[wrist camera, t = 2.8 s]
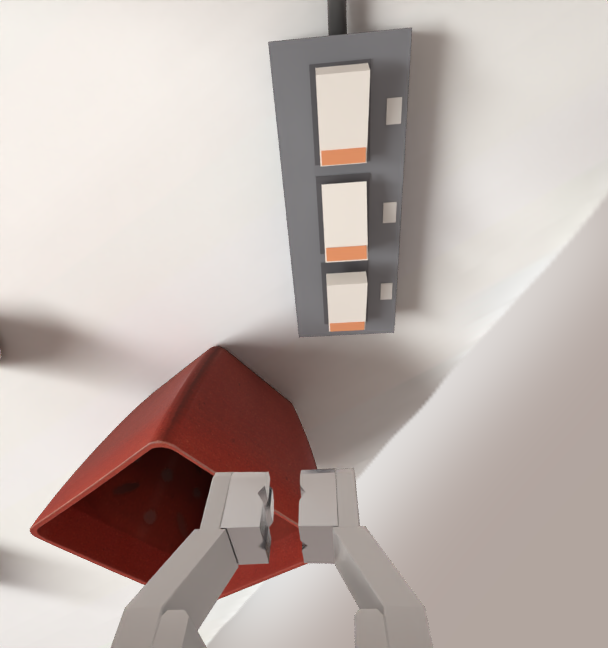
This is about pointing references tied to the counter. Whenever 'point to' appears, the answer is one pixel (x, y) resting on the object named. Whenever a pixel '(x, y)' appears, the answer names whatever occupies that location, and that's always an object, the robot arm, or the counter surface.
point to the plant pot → (183, 473)
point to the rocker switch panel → (308, 176)
